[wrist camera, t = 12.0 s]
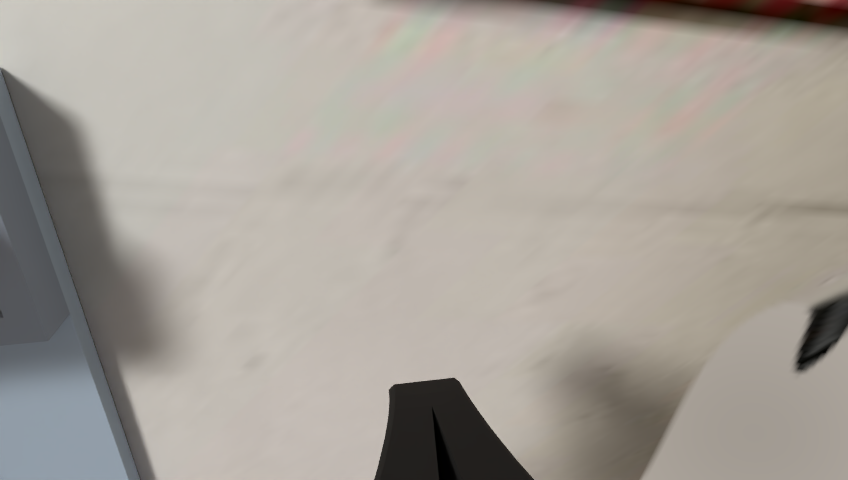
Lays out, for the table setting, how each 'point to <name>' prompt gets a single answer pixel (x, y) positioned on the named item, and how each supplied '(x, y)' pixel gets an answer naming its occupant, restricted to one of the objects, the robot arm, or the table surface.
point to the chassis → (46, 342)
